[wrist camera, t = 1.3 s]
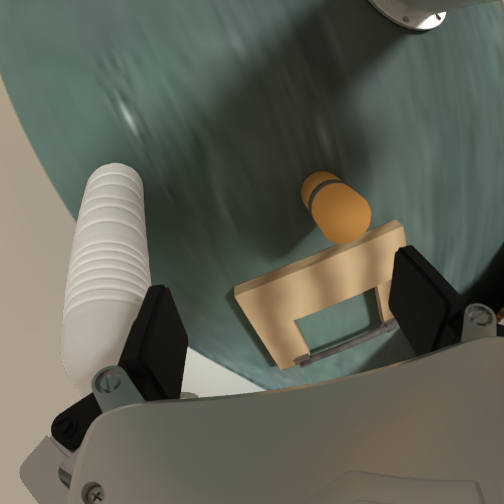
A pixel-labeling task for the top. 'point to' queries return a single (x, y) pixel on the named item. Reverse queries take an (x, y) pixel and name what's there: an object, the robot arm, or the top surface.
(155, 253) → the top surface
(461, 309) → the robot arm
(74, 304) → the water bottle
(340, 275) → the oak frame
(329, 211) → the banded orange cylinder
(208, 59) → the top surface
